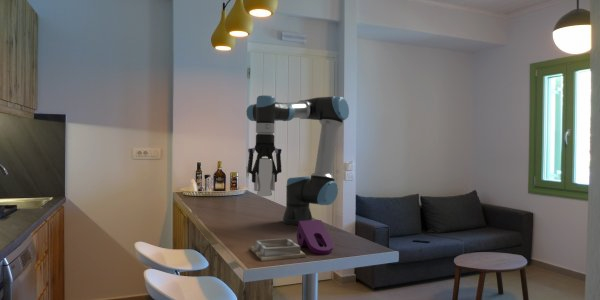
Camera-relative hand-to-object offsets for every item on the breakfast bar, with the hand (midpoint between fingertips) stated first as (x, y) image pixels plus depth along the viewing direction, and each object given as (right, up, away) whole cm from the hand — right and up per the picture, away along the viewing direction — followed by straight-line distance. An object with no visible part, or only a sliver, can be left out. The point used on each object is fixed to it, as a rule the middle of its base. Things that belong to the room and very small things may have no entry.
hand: (264, 190), depth 166 cm
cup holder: (+6, -21, -17) cm, 28 cm away
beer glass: (0, -2, 0) cm, 2 cm away
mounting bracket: (+21, -22, -10) cm, 32 cm away
